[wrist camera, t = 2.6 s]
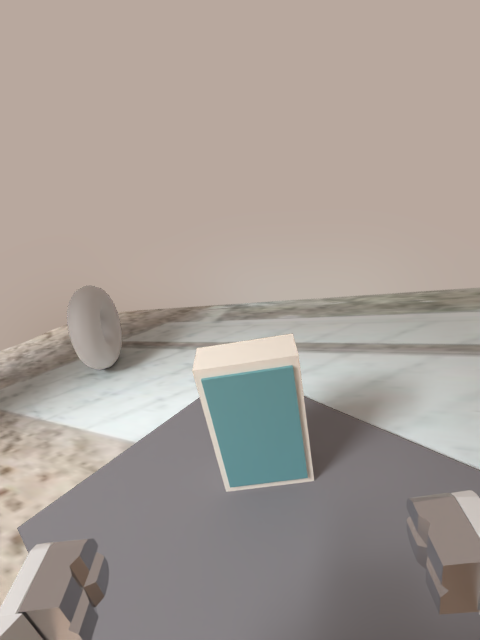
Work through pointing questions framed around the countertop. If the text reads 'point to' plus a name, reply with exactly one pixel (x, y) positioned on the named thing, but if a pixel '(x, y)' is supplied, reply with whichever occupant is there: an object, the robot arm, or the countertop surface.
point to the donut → (94, 327)
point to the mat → (261, 538)
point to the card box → (255, 411)
